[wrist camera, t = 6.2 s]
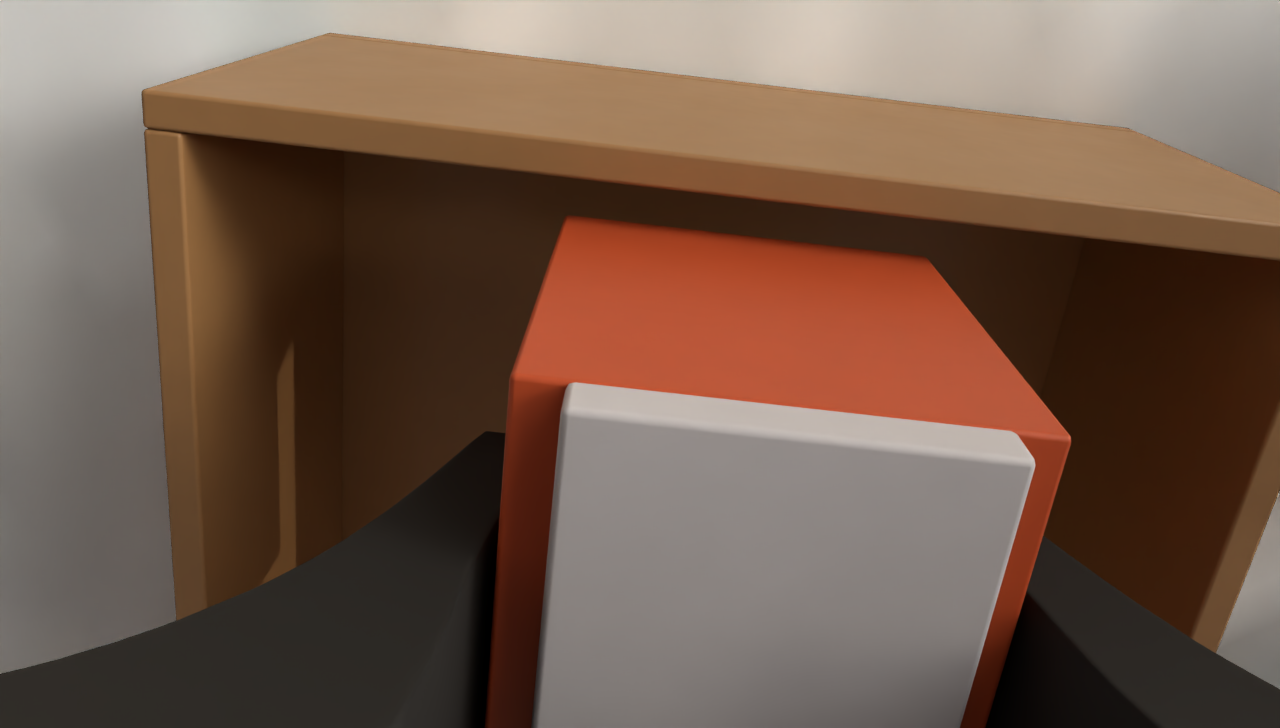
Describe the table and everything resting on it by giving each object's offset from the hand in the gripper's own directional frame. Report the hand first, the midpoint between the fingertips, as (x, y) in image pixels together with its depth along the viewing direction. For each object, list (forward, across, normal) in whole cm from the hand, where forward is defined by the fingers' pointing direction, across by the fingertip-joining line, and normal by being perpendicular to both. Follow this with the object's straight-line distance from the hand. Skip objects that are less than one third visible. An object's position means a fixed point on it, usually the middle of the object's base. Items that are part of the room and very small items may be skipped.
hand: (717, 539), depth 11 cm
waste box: (+7, 0, +4) cm, 8 cm away
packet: (+1, 0, 0) cm, 1 cm away
